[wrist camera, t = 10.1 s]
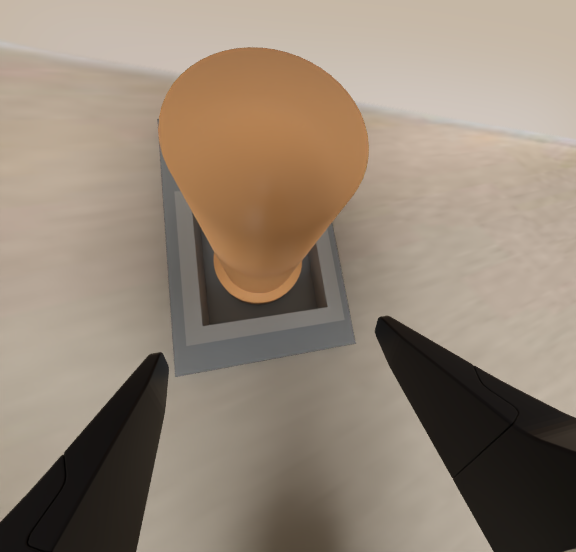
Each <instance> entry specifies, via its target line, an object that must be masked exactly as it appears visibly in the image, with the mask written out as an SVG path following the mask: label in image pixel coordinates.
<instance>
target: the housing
mask: <svg viewBox="0 0 576 552" xmlns="http://www.w3.org/2000/svg"><path fill="white" fill-rule="evenodd" d="M158 127H159V119H158ZM158 133H159V132H158ZM159 148H160V162H161V177H162V191H163V206H164V220H165V235H166V249H167V264H168V278H169V293H170V307H171V322H172V336H173V351H174V365H175V377H178V376H184V375H189V374H194V373H200V372H205V371H211V370H216V369H221V368H227V367H232V366H237V365H243V364H248V363H254V362H259V361H264V360H270V359H275V358H281V357H286V356H291V355H297V354H302V353H307V352H313V351H318V350H324V349H329V348H334V347H340V346H345V345H351V344H356V342H355V337H354V332H353V327H352V322H351V317H350V311H349V306H348V301H347V296H346V291H345V286H344V281H343V276H342V271H341V265H340V260H339V255H338V250H337V245H336V240H335V235H334V230H333V225H332V223H331V224H330V225H329V227H328V228H327V229H326V231H325V232H324V233H323V234H322V236H321V237H320V238H319V239H318V241H317V242H316V243H315V245H314V246H313V247H312V248H311V250H310V251H309V252H308V254H307V255H306V256H305V257H304V259H303V260H302V268H301V272H300V275H299V277H298V279H297V281H296V283H295V284H294V286H293V287H292V288H291V289H290V290H289V291H288V292H287V293H286V294H285V295H283V296H282V297H281V298H279V299H278V300H276V301H274V302H271V303H268V304H262V305H255V304H248V303H245V302H242V301H240V300H238V299H236V298H235V297H233V296H232V295H231V294H230V293H229V292H228V291H227V290H226V289H225V287H224V286H223V285H222V284H221V282H220V281H219V279H218V277H217V274H216V272H215V268H214V250H213V249H212V247H211V245H210V243H209V241H208V240H207V238H206V236H205V234H204V232H203V231H202V229H201V227H200V225H199V223H198V222H197V220H196V218H195V216H194V214H193V212H192V211H191V209H190V207H189V205H188V203H187V202H186V200H185V198H184V196H183V194H182V193H181V191H180V189H179V187H178V185H177V184H176V182H175V180H174V178H173V176H172V174H171V173H170V171H169V169H168V167H167V165H166V162H165V160H164V157H163V155H162V151H161V147H160V143H159Z"/></svg>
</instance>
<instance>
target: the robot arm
mask: <svg viewBox="0 0 576 552" xmlns="http://www.w3.org/2000/svg"><path fill="white" fill-rule="evenodd" d="M375 334H376V337H377V339H378V341H379V344H380V346H381V348H382V351H383V353H384V355H385V358H386V360H387V362H388V364H389V366H390V368H391V370H392V372H393V374H394V375H395V377H396V379H397V381H398V382H399V384H400V386H401V388H402V390H403V391H404V393H405V395H406V397H407V398H408V400H409V402H410V404H411V406H412V407H413V409H414V411H415V413H416V414H417V416H418V418H419V420H420V422H421V423H422V425H423V427H424V429H425V430H426V432H427V434H428V436H429V438H430V439H431V441H432V443H433V445H434V446H435V448H436V450H437V452H438V453H439V455H440V457H441V459H442V461H443V462H444V464H445V466H446V468H447V469H448V471H449V473H450V475H451V477H452V478H453V480H454V482H455V484H456V486H457V488H458V489H459V491H460V493H461V495H462V496H463V498H464V500H465V502H466V503H467V505H468V507H469V509H470V511H471V512H472V514H473V516H474V518H475V519H476V521H477V523H478V525H479V527H480V528H481V530H482V532H483V534H484V535H485V537H486V539H487V541H488V543H489V544H490V546H491V548H492V550H493V551H494V552H576V418H575V417H572V416H570V415H568V414H565V413H563V412H561V411H559V410H557V409H555V408H553V407H551V406H549V405H547V404H545V403H543V402H542V401H540V400H538V399H536V398H534V397H532V396H530V395H528V394H526V393H524V392H522V391H520V390H518V389H516V388H514V387H512V386H510V385H508V384H507V383H505V382H503V381H501V380H499V379H497V378H495V377H494V376H492V375H490V374H488V373H487V372H485V371H483V370H481V369H480V368H478V367H476V366H473V365H472V364H471V363H469V362H467V361H466V360H464V359H462V358H461V357H459V356H457V355H455V354H454V353H452V352H450V351H448V350H447V349H445V348H443V347H442V346H440V345H438V344H436V343H435V342H433V341H431V340H430V339H428V338H426V337H424V336H423V335H421V334H419V333H417V332H416V331H414V330H412V329H411V328H409V327H407V326H405V325H404V324H402V323H400V322H398V321H397V320H395V319H393V318H392V317H390V316H382V317H379V318H378V321H377V325H376V328H375ZM168 375H169V367H168V364H167V362H166V359H165V357H164V355H163V353H161V352H159V353H153V354H150V355H148V356H147V358H146V359H145V360H144V361H143V362H142V363H141V364H140V366H139V367H138V368H137V369H136V370H135V371H134V373H133V374H132V375H131V376H130V377H129V378H128V379H127V381H126V382H125V383H124V384H123V385H122V386H121V387H120V389H119V390H118V391H117V392H116V393H115V394H114V396H113V397H112V398H111V399H110V400H109V401H108V402H107V404H106V405H105V406H104V407H103V408H102V409H101V411H100V412H99V413H98V414H97V415H96V416H95V417H94V419H93V420H92V421H91V422H90V423H89V424H88V425H87V427H86V428H85V429H84V430H83V431H82V432H81V434H80V435H79V436H78V437H77V438H76V439H75V440H74V442H73V443H72V444H71V445H70V446H69V447H68V449H67V450H66V451H65V452H64V455H61V456H60V458H59V459H58V460H57V461H56V462H55V463H54V464H53V466H52V467H51V468H50V469H49V470H48V471H47V472H46V474H45V475H44V476H43V477H42V478H41V479H40V480H39V481H38V482H37V484H36V485H35V486H34V487H33V488H32V489H31V490H30V491H29V492H28V494H27V495H26V496H25V497H24V498H23V499H22V500H21V501H20V502H19V503H18V504H17V505H16V506H15V507H14V508H13V509H12V510H11V511H10V512H9V514H8V515H7V516H6V517H5V518H4V519H3V520H2V521H1V522H0V552H136V550H137V545H138V540H139V535H140V530H141V526H142V521H143V516H144V511H145V506H146V501H147V497H148V492H149V487H150V482H151V477H152V473H153V468H154V463H155V458H156V453H157V448H158V444H159V439H160V434H161V429H162V424H163V420H164V414H165V407H166V397H167V386H168Z"/></svg>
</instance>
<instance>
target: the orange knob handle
mask: <svg viewBox="0 0 576 552" xmlns="http://www.w3.org/2000/svg"><path fill="white" fill-rule="evenodd" d="M158 132H159V143H160V147H161V151H162V155H163V157H164V160H165V162H166V165H167V167H168V169H169V171H170V173H171V174H172V176H173V178H174V180H175V182H176V184H177V185H178V187H179V189H180V191H181V193H182V194H183V196H184V198H185V200H186V202H187V203H188V205H189V207H190V209H191V211H192V212H193V214H194V216H195V218H196V220H197V222H198V223H199V225H200V227H201V229H202V231H203V232H204V234H205V236H206V238H207V240H208V241H209V243H210V245H211V247H212V249H213V250H214V268H215V272H216V274H217V277H218V279H219V281H220V282H221V284H222V285H223V286H224V287H225V289H226V290H227V291H228V292H229V293H230V294H231V295H232V296H233V297H235V298H236V299H238V300H240V301H242V302H245V303H248V304H255V305H262V304H268V303H271V302H274V301H276V300H278V299H279V298H281V297H282V296H283V295H285V294H286V293H287V292H288V291H289V290H290V289H291V288H292V287H293V286H294V284H295V283H296V281H297V279H298V277H299V275H300V272H301V268H302V260H303V259H304V257H305V256H306V255H307V254H308V252H309V251H310V250H311V248H312V247H313V246H314V245H315V243H316V242H317V241H318V239H319V238H320V237H321V236H322V234H323V233H324V232H325V231H326V229H327V228H328V227H329V225H330V224H331V223H332V222H333V220H334V219H335V218H336V217H337V215H338V214H339V213H340V211H341V210H342V209H343V208H344V206H345V205H346V204H347V202H348V201H349V200H350V199H351V197H352V196H353V195H354V193H355V192H356V190H357V189H358V187H359V185H360V183H361V181H362V179H363V177H364V174H365V171H366V168H367V162H368V153H369V144H368V135H367V131H366V127H365V123H364V120H363V118H362V116H361V113H360V111H359V109H358V107H357V106H356V104H355V102H354V101H353V99H352V98H351V96H350V95H349V94H348V92H347V91H346V90H345V89H344V88H343V87H342V85H341V84H340V83H339V82H338V81H336V80H335V79H334V78H333V77H332V76H331V75H330V74H328V73H327V72H325V71H324V70H323V69H321V68H320V67H318V66H316V65H314V64H313V63H311V62H309V61H307V60H305V59H303V58H301V57H299V56H296V55H293V54H290V53H287V52H283V51H278V50H274V49H267V48H250V47H248V48H236V49H231V50H226V51H222V52H219V53H216V54H213V55H210V56H208V57H206V58H204V59H202V60H200V61H198V62H197V63H195V64H194V65H192V66H190V67H189V68H188V69H187V70H186V71H185V72H183V73H182V74H181V75H180V76H179V78H178V79H177V80H176V81H175V82H174V83H173V85H172V86H171V88H170V90H169V91H168V93H167V95H166V97H165V99H164V102H163V104H162V108H161V112H160V116H159V127H158Z"/></svg>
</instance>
